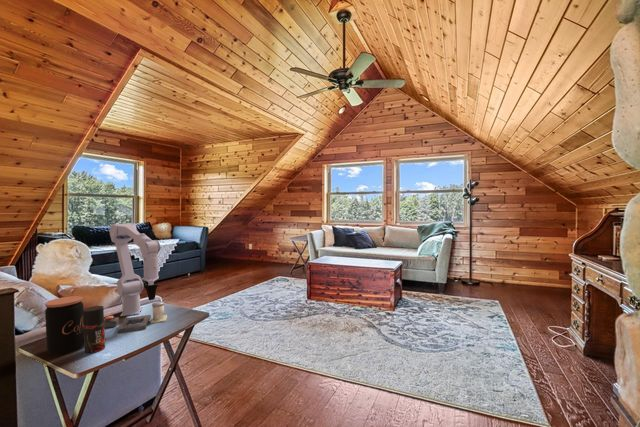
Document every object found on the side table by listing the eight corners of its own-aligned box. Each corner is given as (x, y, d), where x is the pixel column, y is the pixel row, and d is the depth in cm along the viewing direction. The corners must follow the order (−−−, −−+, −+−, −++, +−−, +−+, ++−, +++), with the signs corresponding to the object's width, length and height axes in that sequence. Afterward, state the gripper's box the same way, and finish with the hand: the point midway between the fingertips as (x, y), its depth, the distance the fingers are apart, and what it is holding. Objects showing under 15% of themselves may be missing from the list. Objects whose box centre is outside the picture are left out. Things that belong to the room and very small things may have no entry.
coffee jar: (64, 357, 106) (62, 305, 105) (38, 355, 107) (36, 304, 107) (92, 343, 116) (90, 296, 116) (68, 341, 118) (66, 295, 118)
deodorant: (94, 354, 107) (92, 311, 107) (80, 352, 108) (78, 310, 108) (109, 346, 113) (107, 306, 113) (95, 345, 114) (94, 305, 114)
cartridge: (152, 318, 140) (151, 302, 140) (163, 315, 143) (163, 300, 142) (153, 321, 136) (152, 305, 136) (165, 319, 139) (164, 303, 138)
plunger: (106, 324, 134) (105, 316, 134) (114, 322, 136) (114, 315, 135) (104, 326, 131) (103, 318, 131) (112, 325, 133) (112, 317, 132)
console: (103, 324, 135) (102, 319, 135) (119, 322, 137) (118, 317, 137) (99, 328, 130) (99, 323, 130) (116, 326, 132) (115, 320, 132)
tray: (153, 317, 142) (153, 316, 142) (167, 315, 144) (167, 314, 144) (150, 323, 135) (150, 322, 135) (165, 321, 137) (165, 320, 137)
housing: (125, 321, 138) (125, 318, 138) (150, 317, 142) (150, 314, 142) (117, 333, 125) (117, 329, 125) (145, 328, 129) (145, 325, 129)
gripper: (141, 265, 143) (142, 294, 144) (139, 271, 130) (140, 303, 131) (158, 264, 146) (159, 292, 147) (158, 269, 133) (159, 300, 134)
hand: (152, 297), depth 139 cm, fingers open, 7 cm apart
